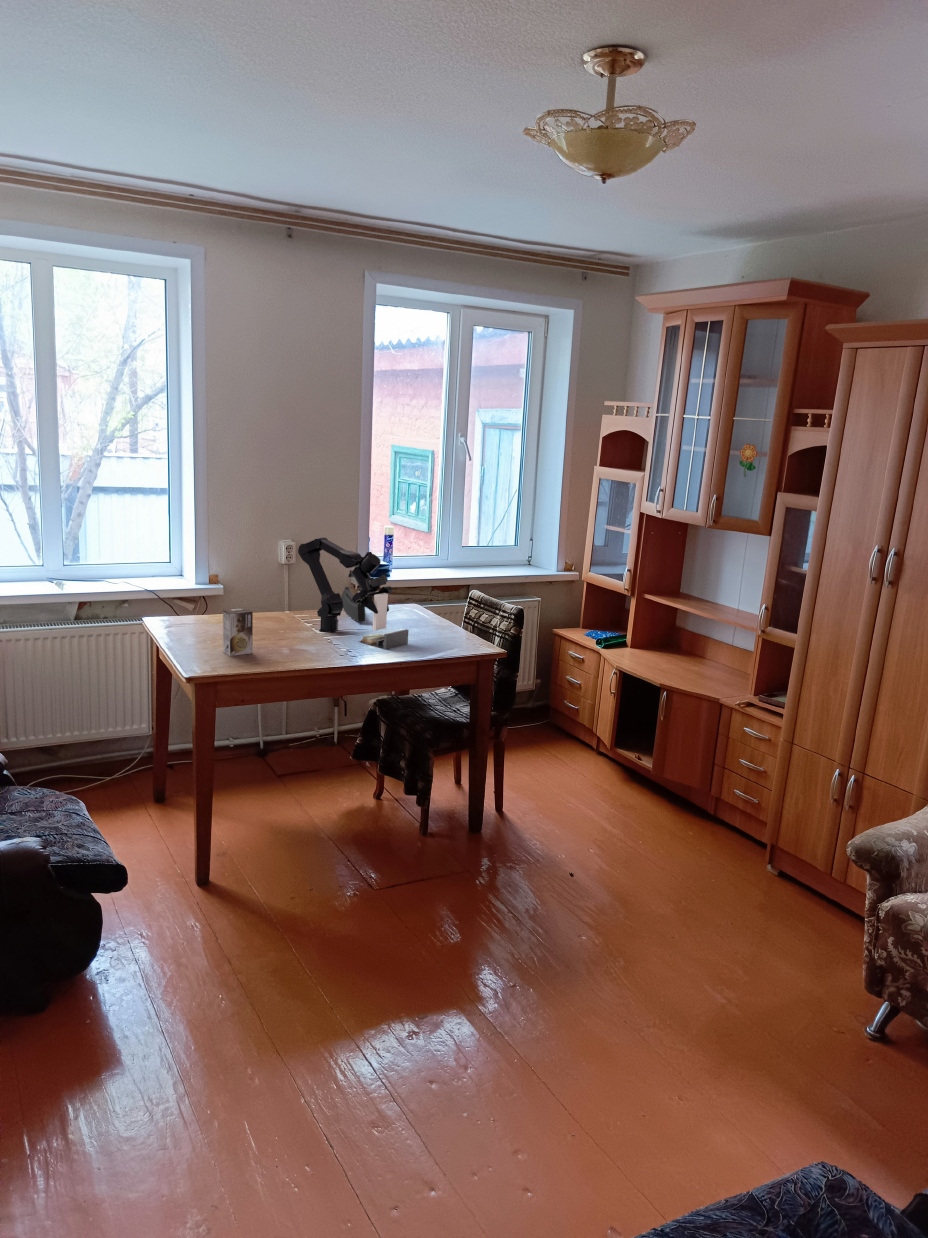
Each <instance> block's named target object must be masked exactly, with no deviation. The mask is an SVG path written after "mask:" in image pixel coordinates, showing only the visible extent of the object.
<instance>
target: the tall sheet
mask: <svg viewBox="0 0 928 1238" xmlns="http://www.w3.org/2000/svg"><path fill="white" fill-rule="evenodd" d="M388 599H389V595H388V594H386V593H383V594H377V595H374V597H373V602H374V604H375V606H376V608H377V610H378V613H377V614H376V613H374V612H372V615H373V616H372V630H373V631H379V630H384V629H386V628H387V620H388V619H387V614H388V612H387V603H388ZM388 604H389V603H388Z"/></svg>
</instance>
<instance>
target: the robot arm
mask: <svg viewBox="0 0 928 1238" xmlns="http://www.w3.org/2000/svg"><path fill="white" fill-rule="evenodd" d="M321 551H324V552H326V553H327V554H329V555H330V556H332V557H334V558H336V559H337V560H338V561H339V563H340V564H341V566H343V567H344V568H345V569H350V570H349V571H348V572H349V573H348V576H347V577H348V578H354V580H355V582H356V584H357V586H356V587H357V589H360V590H357V591H356V592H355V594H353V597H352V601H353V603H354V604H357V603H359V602H360V601H361V602H360V603H359V604H360V605H363V606H364V607H365V609H368V610H370V611H371V612H372V613H373V612H374V613H376V614H377V613H378V610H377V608H376V606H375V604H374V599H373V598H374V595H377V594H383V593H386V594H388V596H389V595H390V594H392V592H394V589H393V588H392V586H391V585H387V583H388V581H389V580H388V577H387V576H386V574H381V575H379V576H378V577H373V576H372V577H371V576H370V574H372V573H373V572H374V571H375V570H376V569H377V568H378V567H379V566H380V565H381V563H382V562H381V559H380V557H378V555H376V554H374V553H373V552H372V551H367V552H366V553H365V555H364V556H362V555H361V553H359V552H357V551H353V550H348V549H345V548H343V547H341V546H340V545H338V544H337V543H334V542H332V541H331V540H329V539H328V538H327V537H324V536H323V537H316V538H315V539H313V540H311V541H309V542H305V543H301V544H299V547H298V548H297V553H298V555H299V557H300V558H301V561H303V562H304V563H305V564H306V565H308V567H309V570H310V571H311V575H312V576H313V579H314V582H315V584H316V586H317V589H318V590H319V592H320V595H321V598H320V605H321V607H320V608H318V609H317V610H316V611H317V617H320V624H319V625H320V627H319V628H320V629H319V630H318V631H319V632H326V633H335V632H336V631H338V630H339V619H338V617H339V616H341V614H342V611H343V610H344V609H343V600H342V599H341V596H342V595H341V594H340V592H337V593H335V591H334V590H333V589H332V586H331V583H330V582H329V580H328V577H327V575H326V573H325V570H324V568H323V565H322V563H321ZM352 568H353V569H352ZM384 585H385V586H384ZM389 611H390V607H389V603H387V613H388V612H389Z"/></svg>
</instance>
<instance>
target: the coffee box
mask: <svg viewBox="0 0 928 1238" xmlns="http://www.w3.org/2000/svg"><path fill="white" fill-rule="evenodd" d="M253 613H254V612H253V610H251V609H249V608H247V607H243V608H242V607H240V608H232V609H231V608H230V609H223V611H222V620H223V621H222V628H223V629H222V636H223V637H222V652H223V653H224V654H226V655H227V656H229V657H232V656H241V655H246V654H253V644H254V643H253V640H254V639H253V628H254V627H253V625H254V624H253V622H254V621H253V617H254V614H253Z"/></svg>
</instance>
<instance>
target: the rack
mask: <svg viewBox="0 0 928 1238" xmlns="http://www.w3.org/2000/svg"><path fill="white" fill-rule="evenodd" d="M409 632H410V631H409V629H408V628H405V629H401V630H398V631H393V632H389V633H388V632H387V633H384V634H383V635H384V639H381V640H377V642H376V644H372V645H370V644H367V643H363V642H360V640H359V641H358V643H360V644H364V645H366V646H371V647H375V648H377V649H381V650H385V651H386V650H392V649H396V648H399V647H404V646H407V645H408V644H409Z"/></svg>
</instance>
